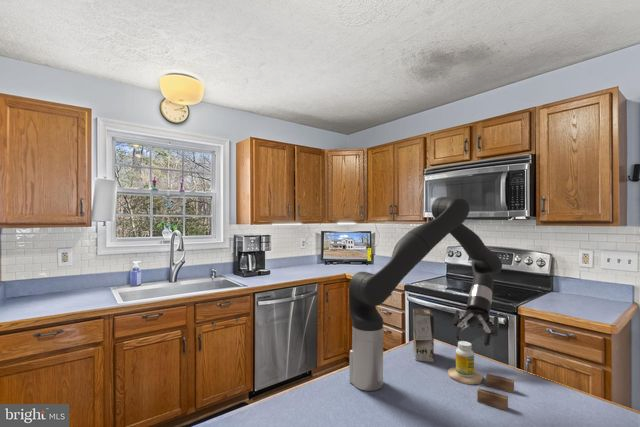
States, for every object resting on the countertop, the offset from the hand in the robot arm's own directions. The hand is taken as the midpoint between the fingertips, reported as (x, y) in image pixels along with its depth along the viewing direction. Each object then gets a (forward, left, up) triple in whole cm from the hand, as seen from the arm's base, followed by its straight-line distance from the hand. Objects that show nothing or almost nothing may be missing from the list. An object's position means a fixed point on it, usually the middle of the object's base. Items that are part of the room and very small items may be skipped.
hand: (471, 342), depth 110 cm
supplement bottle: (0, -7, -8) cm, 11 cm away
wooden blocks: (+10, -14, -9) cm, 19 cm away
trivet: (0, -8, -9) cm, 12 cm away
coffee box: (-16, -1, -9) cm, 19 cm away
